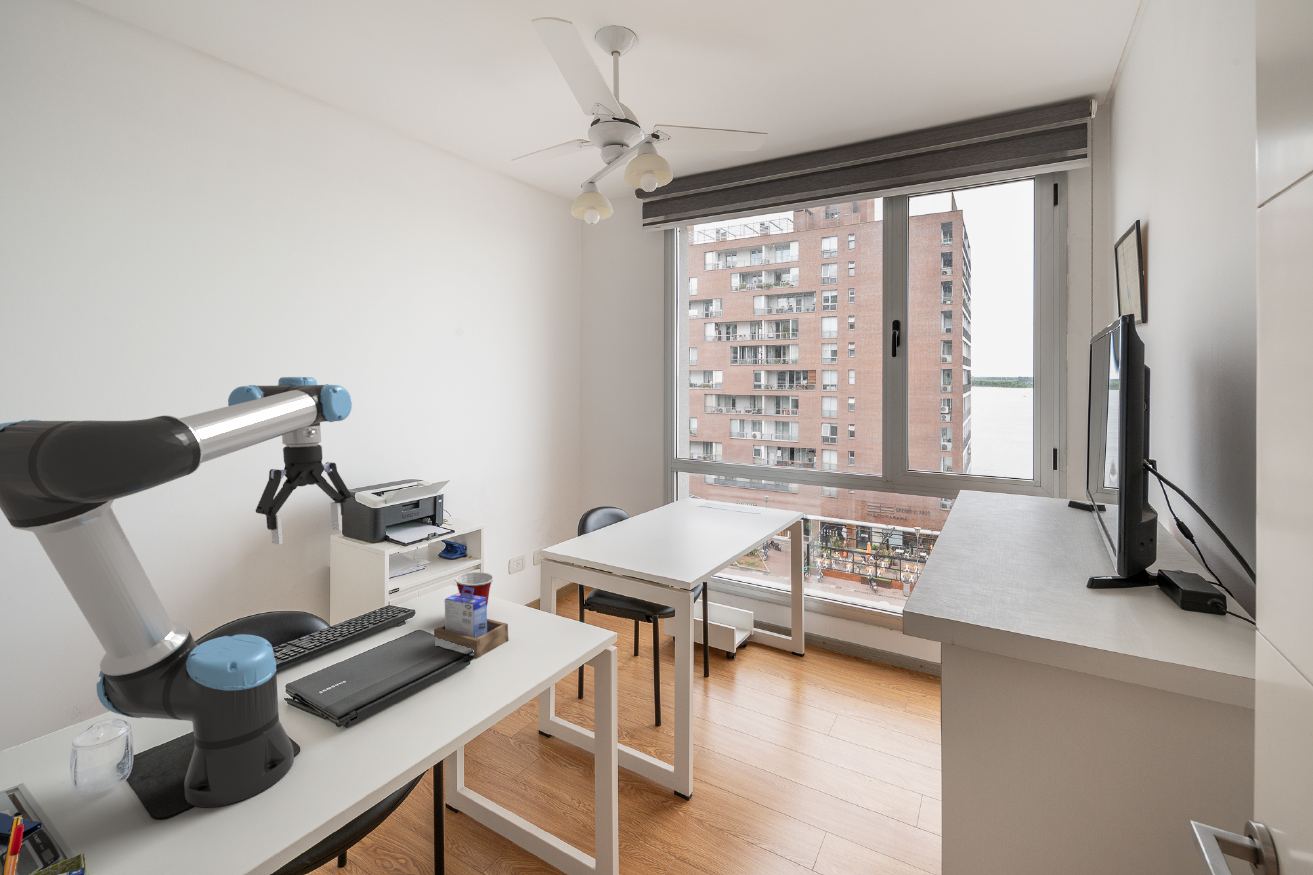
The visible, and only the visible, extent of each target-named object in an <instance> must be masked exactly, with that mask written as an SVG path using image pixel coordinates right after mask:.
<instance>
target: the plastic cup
mask: <svg viewBox="0 0 1313 875" xmlns="http://www.w3.org/2000/svg"><path fill="white" fill-rule="evenodd" d="M494 578H495V577H494V575H493V574H491V573H490V572H483V571H470V572H465V573H460V574H458V575H457V576H455V578H454V581H455V582H456V587H457V590H458V593H460V594H461V592H462V590H463V587H464V586H465V587H470V588H474V592H473V595H474V596H481V597H486V606H487V607H488V603H489V598H490V597H489V595H490V589H491V585H492V582H493V581H494ZM464 593H469V594H470V593H471V591H470V590H465V591H464Z"/></svg>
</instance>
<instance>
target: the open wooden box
mask: <svg viewBox="0 0 1313 875" xmlns="http://www.w3.org/2000/svg"><path fill="white" fill-rule="evenodd" d="M433 636H434V637H437V638H438V639H443V640H445V641H449V642H451V643H455V644H457V645H461V646H465V647H467V648H471V649H473V650H474V657H473V658H476V659H478V658H481V657H482V656H484V655H486V654H488V653H489V652H490V651H493V650H494V649H496V648H497V647H499V646H501V645H503V644H505V643H506V642H508V641H509V624H508V623H505V622H502V621H497V620H493V619H489V618H487V633H486V634H484V635H482V636H480V637H478V638H474V637H470V636H466V635H463V634H459V633H455V632H451V631H448V630H445V623H444V624H441V625H440V626H438V627H435V628H433ZM434 637H433V638H434Z"/></svg>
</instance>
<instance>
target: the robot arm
mask: <svg viewBox="0 0 1313 875" xmlns="http://www.w3.org/2000/svg"><path fill="white" fill-rule="evenodd" d="M317 382H318V381H317V379H315V378H314V377H309V376H283V377H282V376H281V377H279V379H278V382H277V383H278V384H277V385H255V384H249V385H243V386H242V385H241V386H238V387H236V388H234V389H233V390H232V391H231V392H230V394H229V396H228V399H227V402H228V404H227V405H228V406H223V407H219V408H216V409H212V410H207V411H204V412H200V413H196V414H192V415H188V416H184V417H179V418H178V417H176V416H173V415H166V414H165V415H159V416H155V417H150V418H145V419H143V418H142V419H134V420H133V419H132V420H40V419H24V420H19V421H10V422H9V421H8V422H3V423H0V510H1V512H2V513H3V515H4V516H5V517H6V519H7V521H8V523H9V525H10V526H11V527H12V528H14V529H16V530H20V531H27V532H32V533H33V534H34V535H35V537H36V539H37V540H38V542H39V543H40V545H41V547H42V548H43V550H44V552H45V554H46V556H47V557H48V558H49V560H50V562H51V564H52V565H53V567H54V568H55V570H56V572H57V574H58V575H59V577H60V578H61V580H62V581H63V584H64V585H65V586H66V588H67V590H68V591H69V593H70V595H71V596H72V598H73V600H74V602H75V603H76V605H77V606H78V608H79V610H80V612H81V614H82V615H83V616H84V618H85V620H86V621H87V623H88V625H89V626H90V628H91V630H92V631H93V633H94V635H95V636H96V638H97V640H98V641H99V643H100V644H101V646H102V648H103V650H104V651H105V654H104V655H103V657H102V659H101V660H100V663H99V667H100V671H99V674H98V677H100V680H99V681H97V682H96V694H97V697H98V700H99V701H100V703H101V705H102V706H103V707H104V708H105V709H107V710H108V711H110V712H111V713H114V714H116V715H121V716H125V717H129V718H133V719H134V718H135V719H142V718H148V719H158V720H159V719H161V720H162V719H163V720H175V721H176V720H177V721H188V722H192V730H193V738H194V749H193V752H192V754H191V759H190V761H189V764H188V768H187V772H186V774H185V778H184V781H183V782H184V784H183V785H184V786H183V789H184V797H185V800H186V802H187V803H188V804H190V805H192V806H195V807H197V808H198V807H200V808H213V807H214V808H215V807H222V806H227V805H231V804H234V803H238V802H240V801H244V800H246V799H249V798H251V797H253V796H255V795H258V794H260V793H261V792H264V791H265V790H267V789H268V788H270V787H272V786H273V785H275V784H276V783H277V782H279V781H280V780H281V779H282V778H283V777H285V775H287V774H288V772H289V771H290V770H291V769H292V766H293V764H294V760H295V757H294V755H295V754H294V747H293V746H294V745H293V743H292V741H291V739H290V738H289V735H288V734H287V732H286V730H285V728H284V726H283V724H282V723H281V721H280V717H279V716H280V714H279V700H278V699H279V698H278V680H277V661H276V658H275V654H274V649H273V646H272V643H270V642H269V640H267V639H266V638H264V637H263V636H262V637H261V636H258V635H254V634H242V633H241V634H234V635H232V636H229V635H223V636H220V637H219V636H218V637H216V638H215V637H214V638H212V639H209V640H207V641H204V642H201V643H200V644H197V643H196V641H195V639H194V637H193V635H192V634H191V632H190V629H189V628H188V626H187V625H185V624H184V623H181V622H177V621H176V622H175V621H174V622H173V621H171V619H170V617H169V615H168V612H167V611H166V610H165V606H164V605H163V604H162V602H161V599H160V598H159V596H158V593H157V592H156V590H155V588H154V586H153V584H152V583H151V580H150V579H149V577H148V575H147V573H146V571H145V569H144V567H143V566H142V563H141V562H140V560H139V558H138V556H137V554H136V552H135V550H134V549H133V547H132V545H131V543H130V541H129V538H128V537H127V535H126V533H125V532H124V530H123V528H122V526H121V523H120V522H119V520H118V518H117V516H116V515H115V513H114V510H113V509H112V503H114V502H115V500H118V499H121V498H125V497H128V496H131V495H134V494H137V493H141V492H144V491H147V490H150V489H153V488H156V487H158V486H160V485H161V486H162V485H164V484H166V483H169V482H173V481H175V480H177V479H178V480H179V479H181V478H183V477H186V476H189V475H191V474H193V473H195V472H196V471H197V470H198V469H199V467H200V466H201V464H202V463H206V462H209V461H212V460H214V459H218V458H220V457H222V456H226V455H229V454H232V453H235V452H237V451H240V450H243V449H246V448H249V447H252V446H256V445H258V444H261V443H264V442H266V441H269V440H272V439H275V438H277V437H281V439H282V444H283V445H285V446H284V447H283V448H282V452H283V462H284V468H283V469H276V468H275V469H274V468H271V469H269V471H268V472H269V473H268V481H267V483H266V485H265V488H264V489H263V492H262V494H261V497H260V499H259V501H258V504H257V506H256V508H255V513H256V514H261V515H265V516H266V519H265V520H266V527H267V529H268V530H270V532H271V543H272V544H274V545H282V544H284V543H283V542H284V540H283V528H282V526H283V525H282V515H281V514H279V513H278V512H279V511H280V509H281V508H282V507H283V505H284V504H285V503H286V501H288V498H289V497H290V495H292V493H293V492H294V491H295V490H296V489H297V488H298V487H305V486H307V485H309V486H312V485H313V486H314V485H316V486H317V487H318V488H320V489H321V491H323V493H325V494H326V495H327V496H328V497H329V498H330V499H332V501H333V502H330V516H331V518H330V519H331V529H332V530H335V531H342V530H343V524H342V523H343V522H342V516H343V515H345V514H344V513H345V510H344V509H345V508H344V503H346V502H347V499H351V497H352V494H351V492H350V491H349V489H348V487H347V486H346V483H345V482H344V480H343V478H342V477H341V475H340V473H339V472H338V466H337V463H336V462H329V461H327V462H325V463H323V447H322V445H321V444H320V443H321V442H322V432H321V423H322V422H323V423H325V422H329V423H333V422H334V423H335V422H341V421H344V420H346V419H347V418H349V416H350V413H351V411H352V407H353V405H352V404H353V403H352V399H351V394H350V392H349V391H348V390H347V389H346V388H345V387H343V386H342V385H340V384H339V385H337V384H329V383H328V384H327V383H325V384H318V383H317ZM323 472H325V473H326V474H327V476H328V478H329V479H330V480H329V481H331V483H332V485H333V486H332V485H331V484H330V483H329V482H328V481H327V479H326V478H325V477H324V476H323V475H322V474H323ZM284 476H285V477H286V479H285V481H284V483H282V487H281V488H280V489H279V486H280V484H281V481H282V479H284ZM278 489H279V491H278ZM277 491H278V492H277ZM276 493H277V494H276Z"/></svg>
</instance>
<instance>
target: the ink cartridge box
mask: <svg viewBox="0 0 1313 875" xmlns="http://www.w3.org/2000/svg"><path fill="white" fill-rule="evenodd" d="M465 590H470V591H471V593H470V594H469V593H464V591H465ZM473 592H474V588H470V587H465V586H464V587H463V590H462V592H461V594H460V593H459V592H458V593H457V592H456V593H455V594H452V595H450V596H448V597H446V598H445V599H444V624H445V630H448V631H451V632H455V633H459V634H463V635H466V636H470V637H474V638H478V637H480V636H482V635H484V634H486V633H487V619H488V614H487V613H488V611H487V610H488V609H487V608H488V605H487V606H486V597H481V596H474V595H473Z"/></svg>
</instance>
